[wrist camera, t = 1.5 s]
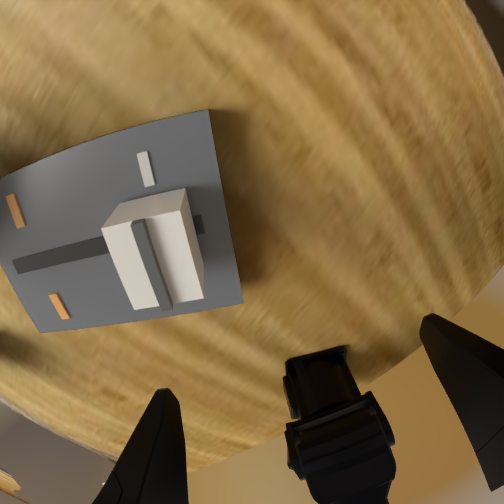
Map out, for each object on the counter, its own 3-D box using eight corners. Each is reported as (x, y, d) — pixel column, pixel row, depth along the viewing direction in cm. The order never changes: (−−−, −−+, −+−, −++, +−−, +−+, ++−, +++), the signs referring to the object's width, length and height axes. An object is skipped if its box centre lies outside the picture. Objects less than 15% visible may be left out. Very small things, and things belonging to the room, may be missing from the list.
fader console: (208, 109, 17) (208, 110, 14) (240, 283, 23) (244, 304, 21) (-10, 183, 16) (-29, 194, 13) (49, 314, 22) (39, 334, 20)
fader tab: (185, 188, 16) (179, 214, 13) (203, 264, 19) (204, 304, 15) (119, 203, 16) (97, 233, 12) (143, 275, 18) (132, 316, 15)
